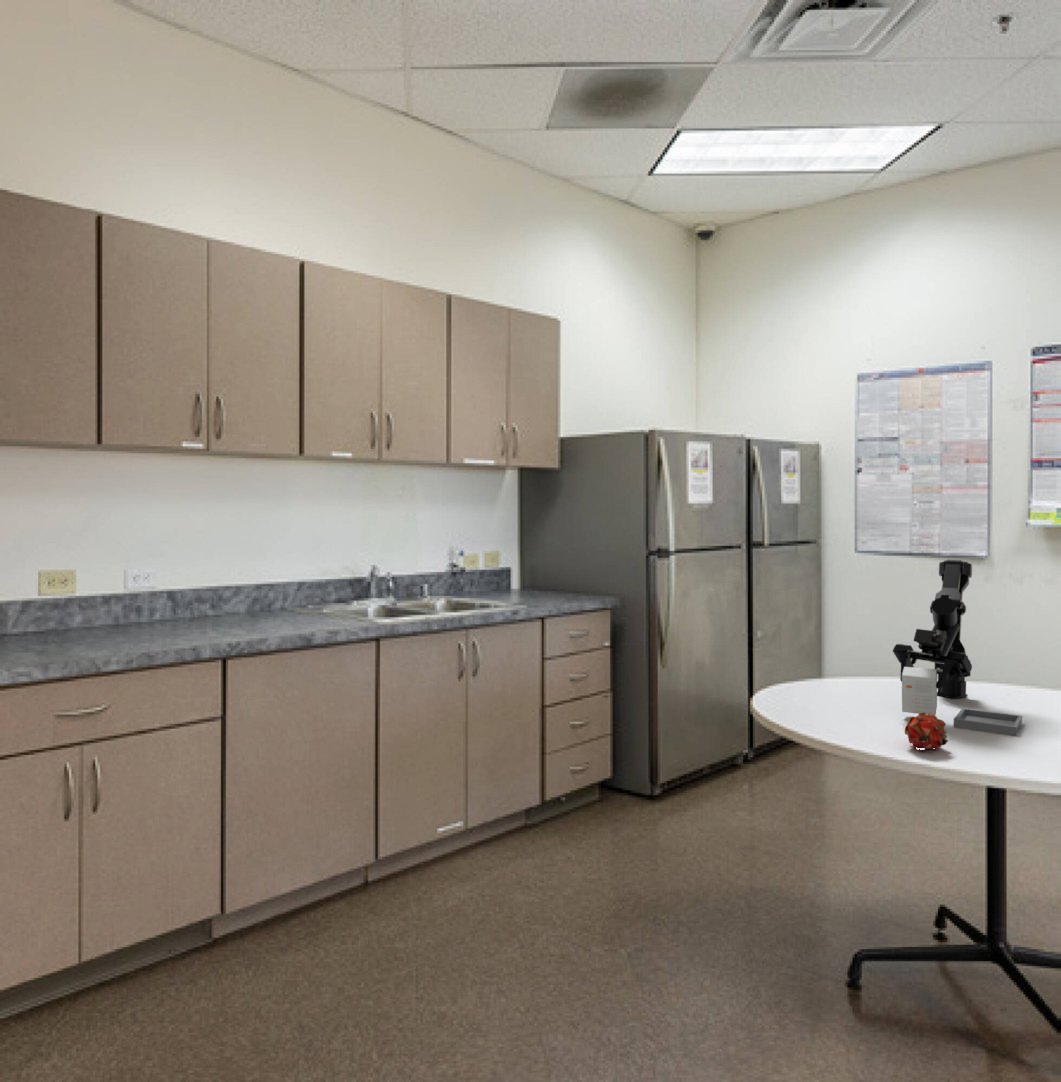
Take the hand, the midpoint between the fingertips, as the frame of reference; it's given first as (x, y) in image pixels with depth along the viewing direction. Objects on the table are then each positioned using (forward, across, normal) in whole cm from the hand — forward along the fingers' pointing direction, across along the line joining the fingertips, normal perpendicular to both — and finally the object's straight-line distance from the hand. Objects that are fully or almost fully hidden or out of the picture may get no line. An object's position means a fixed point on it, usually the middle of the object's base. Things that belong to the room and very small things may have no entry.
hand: (919, 684), depth 219 cm
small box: (+4, -1, +6) cm, 7 cm away
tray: (+1, +14, +12) cm, 18 cm away
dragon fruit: (+23, +15, -11) cm, 30 cm away
